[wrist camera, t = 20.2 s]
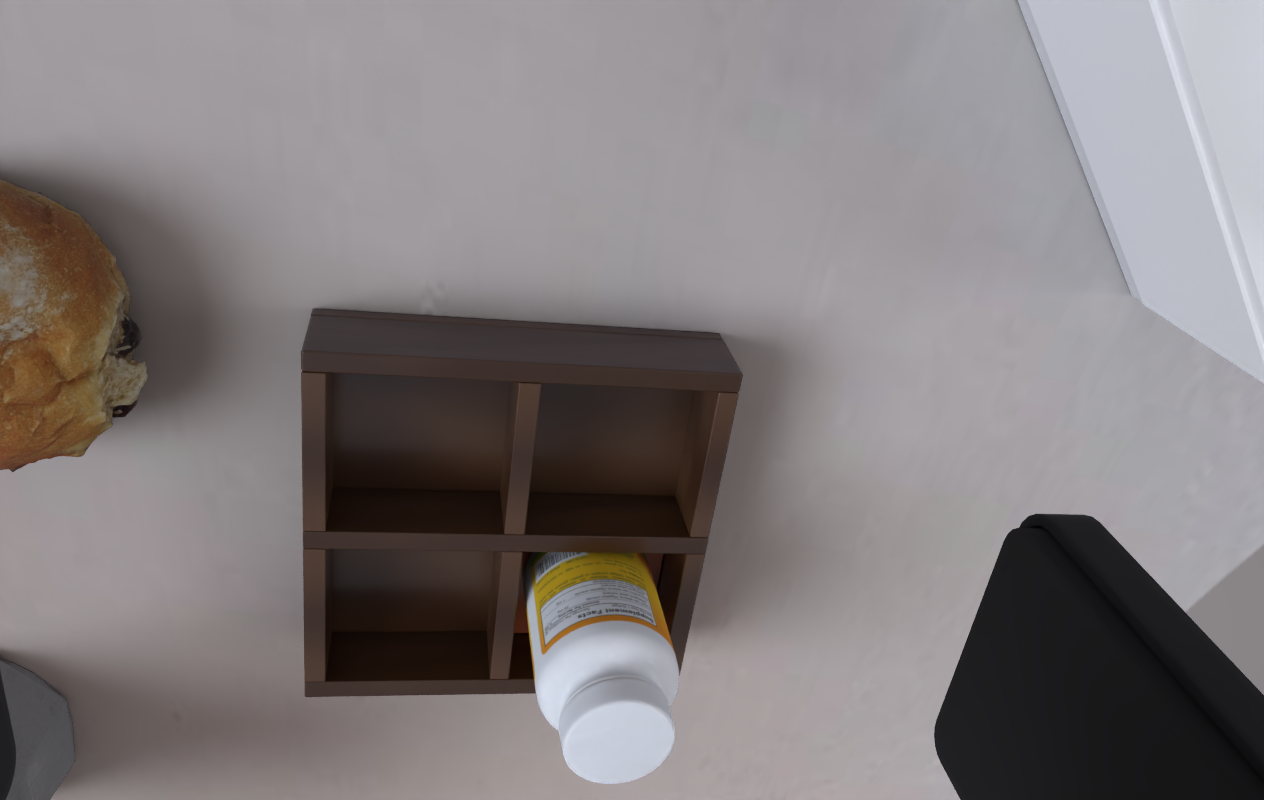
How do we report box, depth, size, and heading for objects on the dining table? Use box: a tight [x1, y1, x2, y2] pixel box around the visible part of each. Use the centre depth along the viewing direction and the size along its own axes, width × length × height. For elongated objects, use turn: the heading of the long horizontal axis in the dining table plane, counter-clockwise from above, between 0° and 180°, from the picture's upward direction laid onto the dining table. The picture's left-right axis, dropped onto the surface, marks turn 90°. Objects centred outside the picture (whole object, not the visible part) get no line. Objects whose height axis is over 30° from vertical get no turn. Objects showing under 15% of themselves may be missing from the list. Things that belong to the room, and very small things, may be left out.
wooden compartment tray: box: [301, 309, 743, 697], centre depth 40 cm, size 15×15×4 cm
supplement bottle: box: [523, 552, 679, 784], centre depth 39 cm, size 5×5×10 cm
